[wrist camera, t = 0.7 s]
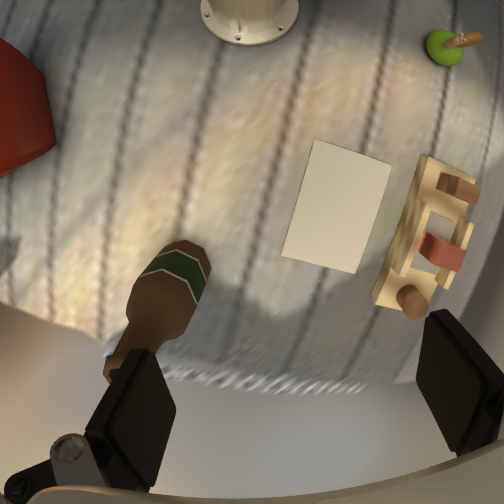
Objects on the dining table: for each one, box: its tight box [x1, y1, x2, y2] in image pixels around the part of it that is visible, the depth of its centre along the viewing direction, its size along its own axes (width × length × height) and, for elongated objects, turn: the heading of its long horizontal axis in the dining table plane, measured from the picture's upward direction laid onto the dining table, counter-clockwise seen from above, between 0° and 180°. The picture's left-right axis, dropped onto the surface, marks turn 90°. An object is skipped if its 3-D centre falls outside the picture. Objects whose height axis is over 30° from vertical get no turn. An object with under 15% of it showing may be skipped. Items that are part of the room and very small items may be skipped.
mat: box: [281, 139, 392, 274], centre depth 41 cm, size 16×11×1 cm
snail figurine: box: [426, 29, 483, 66], centre depth 27 cm, size 5×6×12 cm
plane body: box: [370, 155, 481, 320], centre depth 38 cm, size 22×9×8 cm, turn 166°
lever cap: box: [410, 212, 467, 275], centre depth 36 cm, size 8×5×6 cm, turn 166°
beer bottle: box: [103, 240, 211, 384], centre depth 33 cm, size 8×8×24 cm
